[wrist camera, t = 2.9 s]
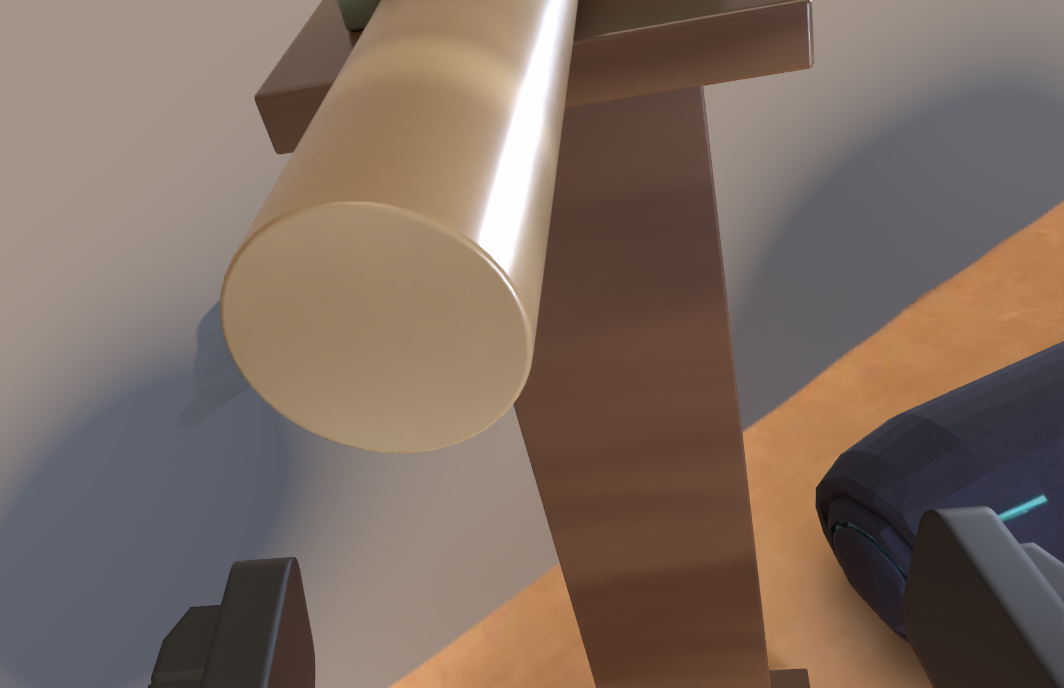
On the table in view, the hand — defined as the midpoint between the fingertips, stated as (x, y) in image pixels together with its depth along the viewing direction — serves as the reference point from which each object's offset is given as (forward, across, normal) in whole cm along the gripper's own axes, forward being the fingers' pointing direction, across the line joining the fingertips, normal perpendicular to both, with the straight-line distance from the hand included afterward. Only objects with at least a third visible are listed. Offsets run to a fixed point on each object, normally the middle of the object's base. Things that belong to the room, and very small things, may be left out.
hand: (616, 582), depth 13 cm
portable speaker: (+21, +25, -19) cm, 38 cm away
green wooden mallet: (+4, -1, +6) cm, 7 cm away
